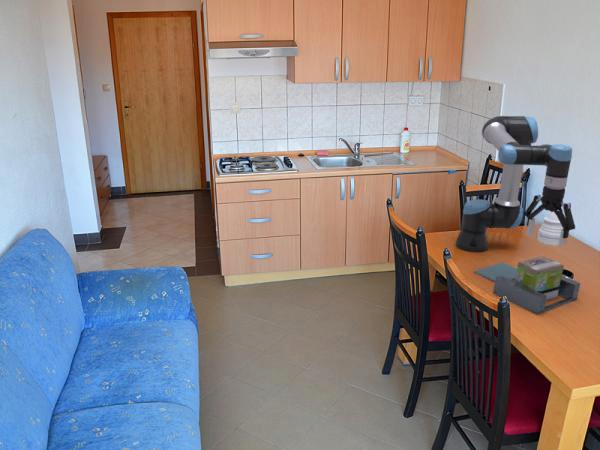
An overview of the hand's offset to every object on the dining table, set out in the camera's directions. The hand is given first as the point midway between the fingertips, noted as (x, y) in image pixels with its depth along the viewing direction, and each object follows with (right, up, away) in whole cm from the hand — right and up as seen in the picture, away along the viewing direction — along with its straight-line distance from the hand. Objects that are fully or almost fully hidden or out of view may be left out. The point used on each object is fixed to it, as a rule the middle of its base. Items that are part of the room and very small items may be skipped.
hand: (545, 240), depth 206 cm
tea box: (0, -23, +8) cm, 25 cm away
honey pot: (+34, -2, +67) cm, 75 cm away
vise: (+2, -22, +10) cm, 24 cm away
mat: (-6, -16, +28) cm, 33 cm away
